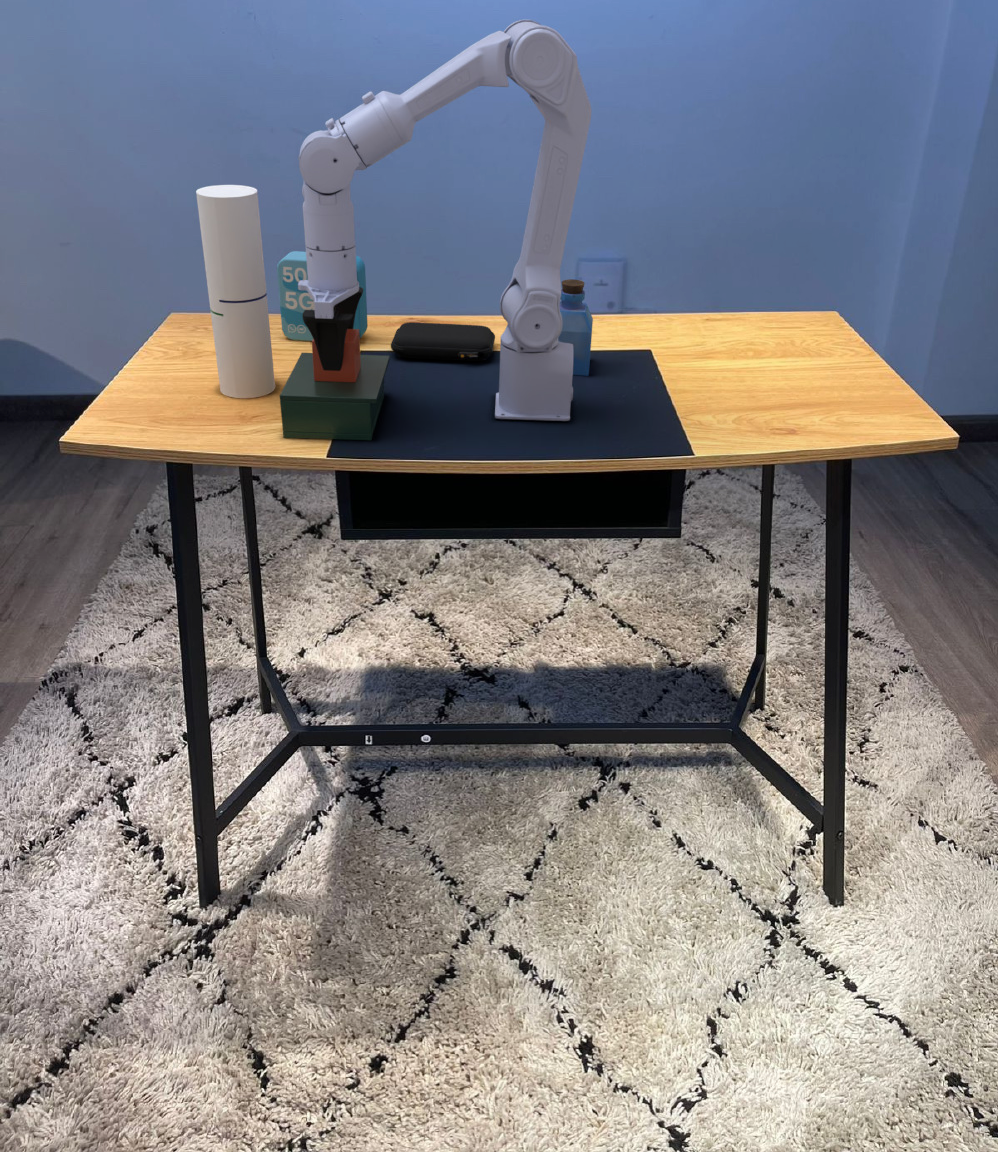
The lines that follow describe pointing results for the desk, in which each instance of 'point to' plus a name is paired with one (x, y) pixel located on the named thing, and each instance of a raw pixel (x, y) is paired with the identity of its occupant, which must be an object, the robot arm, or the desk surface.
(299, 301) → the data package
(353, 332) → the block
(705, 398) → the desk surface
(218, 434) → the desk surface
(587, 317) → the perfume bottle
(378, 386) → the bin lid
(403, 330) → the carrying case
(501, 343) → the robot arm
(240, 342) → the cylindrical container
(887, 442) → the desk surface
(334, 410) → the bin
